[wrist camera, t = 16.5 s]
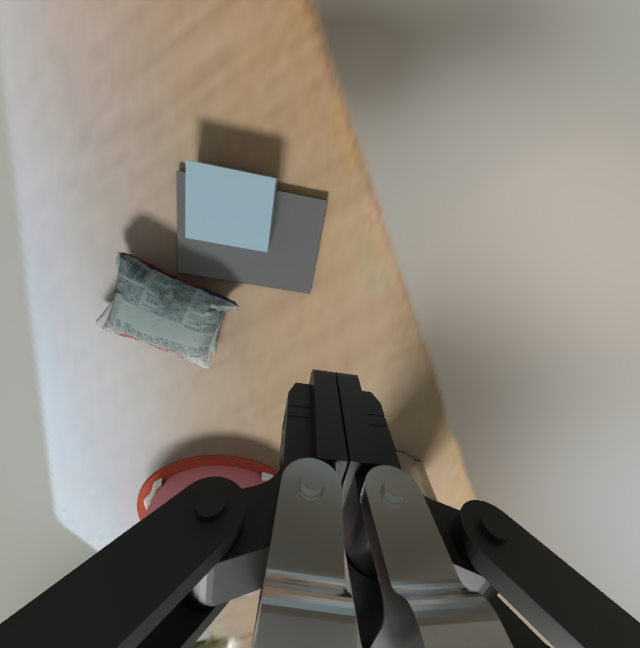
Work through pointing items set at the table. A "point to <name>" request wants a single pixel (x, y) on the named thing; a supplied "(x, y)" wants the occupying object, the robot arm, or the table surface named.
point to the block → (229, 206)
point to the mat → (257, 266)
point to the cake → (193, 469)
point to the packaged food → (164, 311)
